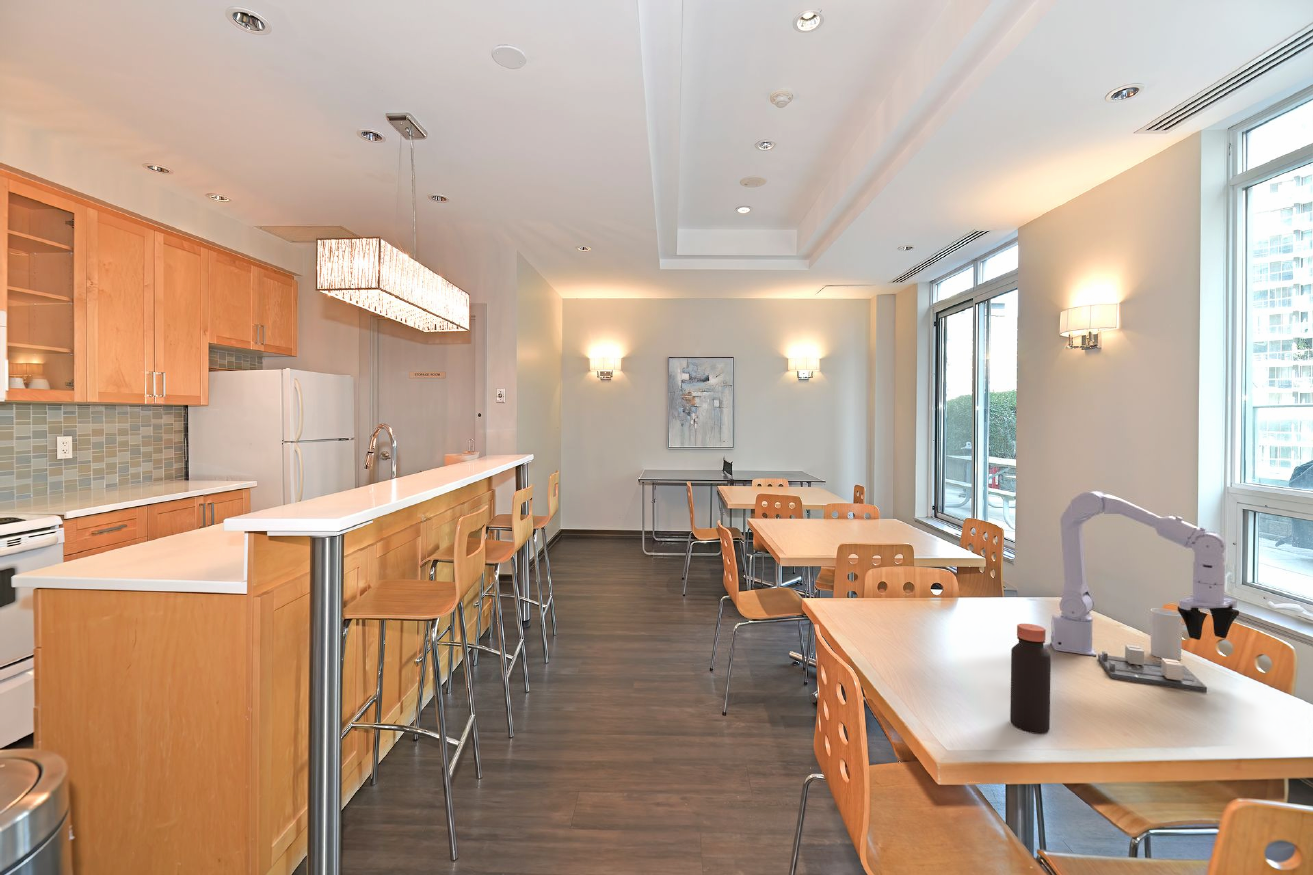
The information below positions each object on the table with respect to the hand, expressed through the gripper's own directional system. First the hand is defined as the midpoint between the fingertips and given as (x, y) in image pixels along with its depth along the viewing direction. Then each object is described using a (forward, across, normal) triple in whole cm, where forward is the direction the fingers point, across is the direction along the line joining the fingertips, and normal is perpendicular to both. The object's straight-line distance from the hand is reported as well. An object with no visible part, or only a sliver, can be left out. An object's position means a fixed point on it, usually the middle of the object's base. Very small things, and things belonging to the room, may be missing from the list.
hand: (1207, 637), depth 150 cm
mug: (+10, +6, +16) cm, 20 cm away
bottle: (+10, -63, -15) cm, 66 cm away
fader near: (+8, -11, -1) cm, 14 cm away
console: (+10, -12, +4) cm, 16 cm away
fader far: (+8, -11, +9) cm, 17 cm away
